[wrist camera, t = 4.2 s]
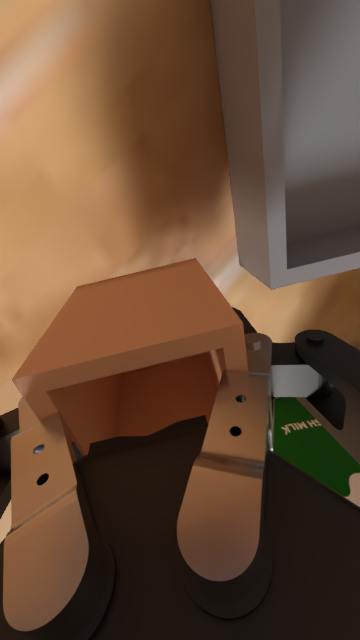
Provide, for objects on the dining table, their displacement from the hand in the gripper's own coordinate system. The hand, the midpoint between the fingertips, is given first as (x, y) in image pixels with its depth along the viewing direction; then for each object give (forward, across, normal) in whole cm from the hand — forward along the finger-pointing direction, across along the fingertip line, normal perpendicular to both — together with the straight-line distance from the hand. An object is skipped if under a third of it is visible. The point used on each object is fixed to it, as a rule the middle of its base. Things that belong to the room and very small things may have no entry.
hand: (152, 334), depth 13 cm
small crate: (+1, 0, 0) cm, 1 cm away
